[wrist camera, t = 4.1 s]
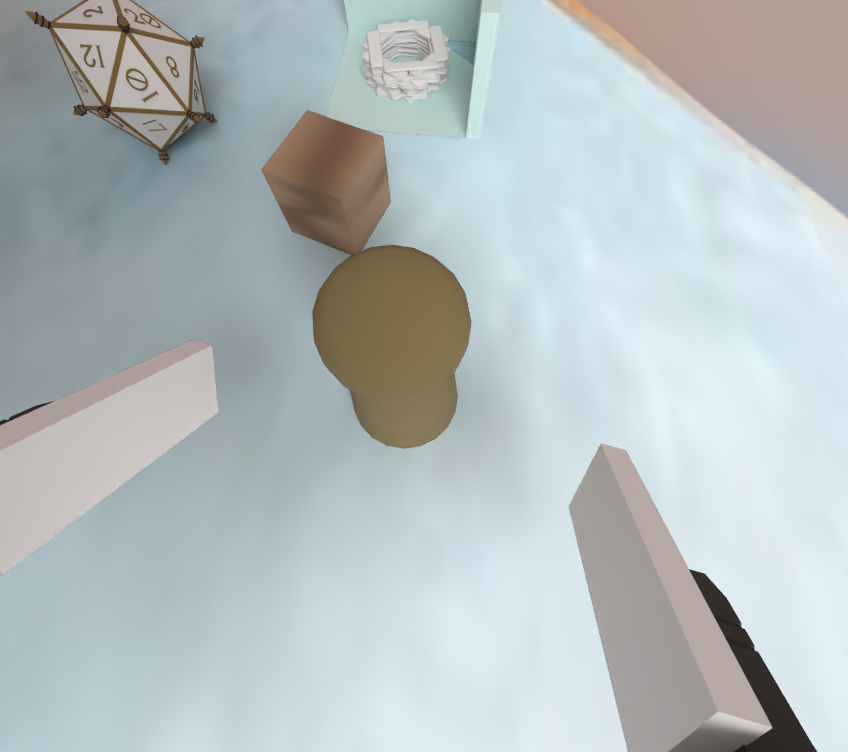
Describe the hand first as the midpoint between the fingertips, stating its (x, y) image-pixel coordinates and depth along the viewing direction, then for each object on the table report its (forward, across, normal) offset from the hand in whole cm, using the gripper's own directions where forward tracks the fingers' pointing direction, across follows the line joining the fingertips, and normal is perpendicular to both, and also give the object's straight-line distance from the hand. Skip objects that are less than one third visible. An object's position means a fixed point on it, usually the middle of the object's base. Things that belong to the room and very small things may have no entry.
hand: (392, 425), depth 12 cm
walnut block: (+16, -8, +4) cm, 19 cm away
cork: (+8, -1, -4) cm, 9 cm away
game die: (+19, -23, +7) cm, 31 cm away
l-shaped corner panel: (+26, -8, +15) cm, 31 cm away
